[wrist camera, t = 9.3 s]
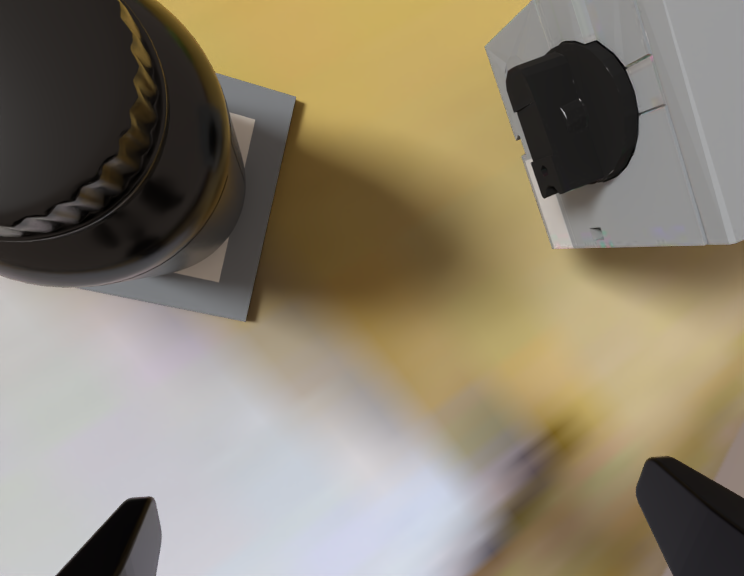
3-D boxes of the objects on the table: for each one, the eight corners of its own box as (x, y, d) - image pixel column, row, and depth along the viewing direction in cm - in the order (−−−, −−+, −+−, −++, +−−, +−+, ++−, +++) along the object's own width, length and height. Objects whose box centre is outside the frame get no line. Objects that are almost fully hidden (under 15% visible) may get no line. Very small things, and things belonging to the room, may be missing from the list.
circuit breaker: (410, 96, 21) (735, -273, 6) (689, -2, 23) (1403, -442, 9) (470, 264, 22) (872, 281, 7) (732, 153, 24) (1440, -2, 10)
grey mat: (245, 320, 20) (245, 321, 20) (-3, 270, 18) (-10, 270, 18) (295, 100, 20) (296, 96, 20) (49, 27, 18) (43, 21, 18)
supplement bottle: (32, 98, 18) (-427, -205, 6) (229, 80, 19) (164, -200, 7) (73, 288, 18) (-272, 346, 7) (261, 259, 20) (247, 264, 8)
